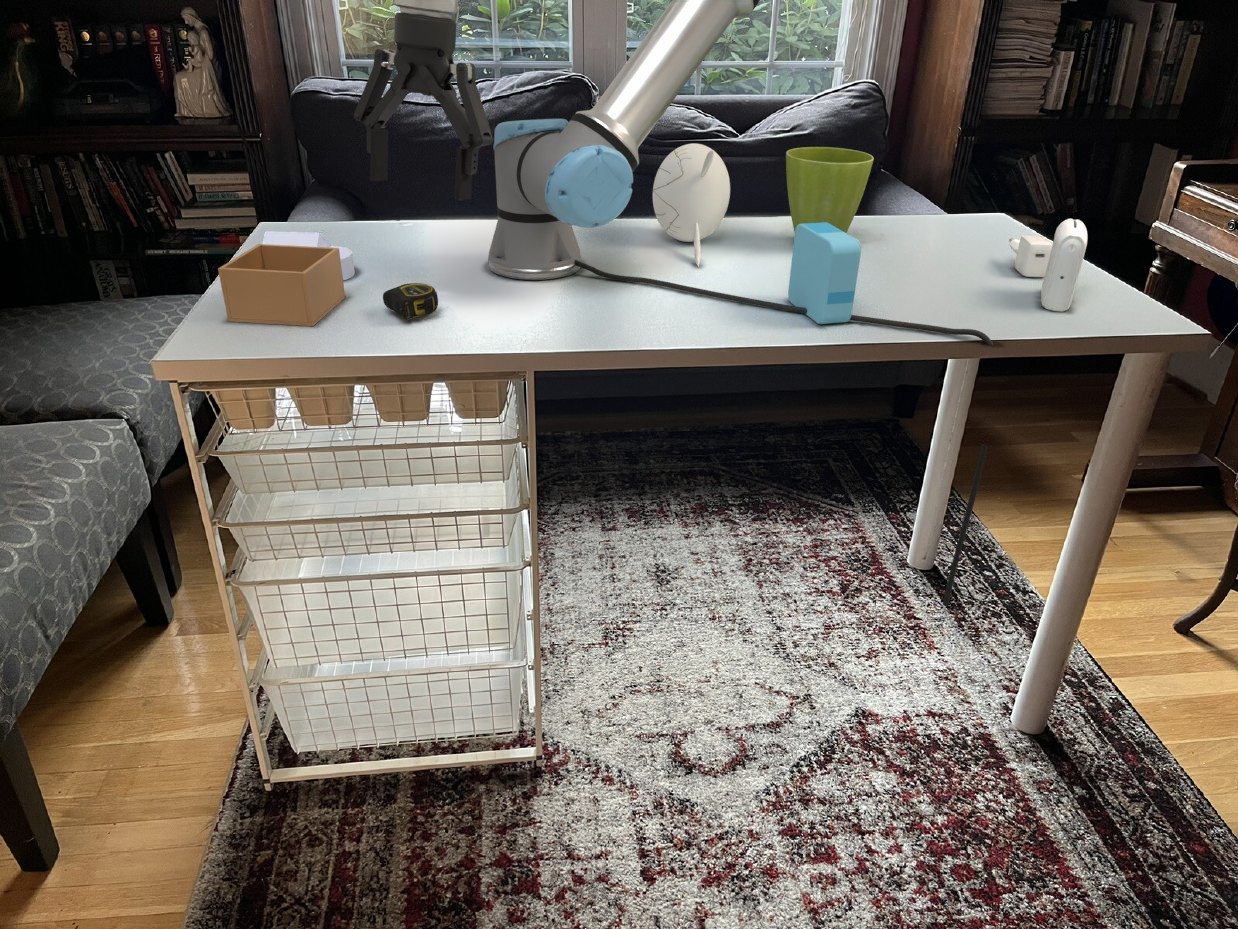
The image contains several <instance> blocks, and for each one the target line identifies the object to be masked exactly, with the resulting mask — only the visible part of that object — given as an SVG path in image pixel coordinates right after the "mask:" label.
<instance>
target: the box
mask: <svg viewBox="0 0 1238 929" xmlns="http://www.w3.org/2000/svg"><path fill="white" fill-rule="evenodd" d="M217 271H218V276H219V282H220V286H221V292H222V296H223V302H224V306H225V312H226V317H227V322H235V323H247V324H248V323H251V324H267V325H269V324H270V325H286V326H300V327H301V326H302V327H314V326H315V325H316V324H318V322H320V321H321V320H322V319H323V318H324V317H325V316H326V315H328V314H329V313H330V312H331V311H332V310H334V308H336V307H337V306H338V305H339V304H340V303H341V302H342V301H344V300H345V299H346V293H345V292H346V290H345V284H344V280H343V275H342V268H341V260H340V252H339V248H327V247H308V246H288V245H268V244H262V243H258V244H256V245H254V246H253V247H251V248H249V249H247V250H246V251H244V252H243V253H241V254H240V255H237V256H235V258H233V259H231V260H230V261H228V262H227V263H225V264H223V265H221V266H220V267H218V268H217Z"/></svg>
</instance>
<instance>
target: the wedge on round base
mask: <svg viewBox="0 0 1238 929" xmlns="http://www.w3.org/2000/svg"><path fill="white" fill-rule="evenodd" d="M261 244H268V245H288V246H308V247H327V248H339V252H340V260H341V268H342V275H343V281H346V280H349V279H351V278H353V277H354V276H355V274H356V272H355V265H354V264H355V263H354V255H353V251H352V250H351V249H350V248H348V247H344V246H336V245H331V244H330V243H329V242H328V241H327V239H326V238H325V237H324V236H323V235H322V233H320V232H311V231H309V232H308V231H272V230H271V231H269V230H268V231H264V235H263V239H262V243H261Z"/></svg>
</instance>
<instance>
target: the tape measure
mask: <svg viewBox="0 0 1238 929" xmlns="http://www.w3.org/2000/svg"><path fill="white" fill-rule="evenodd" d="M438 296H439V295H438V292H437V290H436V289H435V287H434V286H432V285H430V284H427V283H421V282H410V283H404V284H401V285H398V286H396V287H393V288H391V289H388V290H386V291H384V292H383V294H382V300H383V304H384V306H385V307H386V308H388V309H389V310H390V311H392V312H394V313H395V314H397V315H398V316H399V317H401V318H402V319H404V320H412V319H413V318H423V317H427V316H430V315H431V314H434V313H435V312H436V311H437V309H438V306H439V297H438Z"/></svg>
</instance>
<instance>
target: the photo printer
mask: <svg viewBox="0 0 1238 929" xmlns="http://www.w3.org/2000/svg"><path fill="white" fill-rule="evenodd" d="M1087 246H1088V229H1087V227H1086V225H1085V224H1084V222H1083V221H1082V220H1080V219H1073V218H1067V219H1065V220H1063V221H1062V222H1060V224H1058V226H1057V227H1056V230H1055V233H1054V236H1053V241H1052V249H1051V253H1050V257H1049V261H1048V265H1047V269H1046V273H1045V276H1044V277H1043V280H1042V284H1041V292H1040V300H1041V306H1042V307H1043V308H1044V309H1046V310H1048V311H1052V312H1065V311H1069V309H1070V307H1071V305H1072V302H1073V298H1074V294H1075V291H1076V287H1077V283H1078V280H1079V277H1080V272H1081V269H1082V265H1083V261H1084V258H1085V253H1086V249H1087Z"/></svg>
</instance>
